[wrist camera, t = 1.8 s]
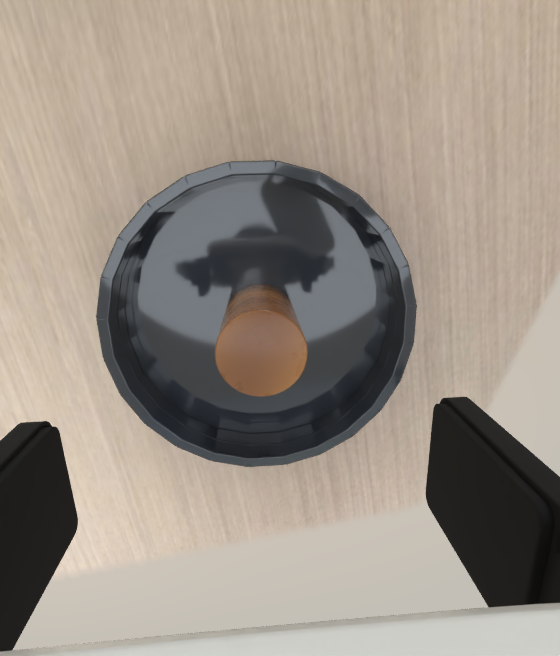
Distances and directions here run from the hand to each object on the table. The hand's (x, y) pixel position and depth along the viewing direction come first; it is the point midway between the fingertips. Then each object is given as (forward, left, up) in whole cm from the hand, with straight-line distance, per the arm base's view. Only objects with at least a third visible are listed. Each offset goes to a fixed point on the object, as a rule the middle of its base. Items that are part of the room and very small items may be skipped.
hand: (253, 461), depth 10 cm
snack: (0, 0, -14) cm, 14 cm away
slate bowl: (0, 0, -14) cm, 14 cm away
